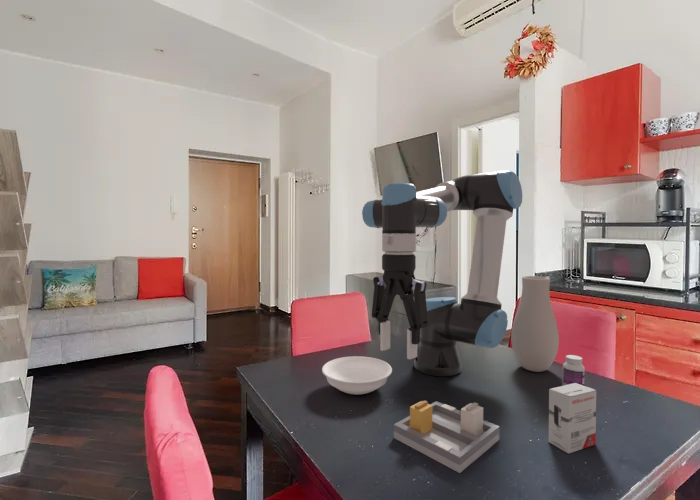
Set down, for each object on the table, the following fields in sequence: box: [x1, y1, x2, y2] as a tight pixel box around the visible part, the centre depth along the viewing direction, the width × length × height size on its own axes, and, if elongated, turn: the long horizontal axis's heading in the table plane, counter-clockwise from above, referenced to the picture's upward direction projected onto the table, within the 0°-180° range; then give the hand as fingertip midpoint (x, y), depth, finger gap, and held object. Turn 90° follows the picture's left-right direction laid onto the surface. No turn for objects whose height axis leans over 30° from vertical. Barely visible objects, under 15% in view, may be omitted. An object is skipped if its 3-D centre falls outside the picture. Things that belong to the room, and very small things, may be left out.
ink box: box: [548, 383, 597, 455], centre depth 77 cm, size 8×5×12 cm, turn 112°
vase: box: [510, 275, 560, 373], centre depth 119 cm, size 14×14×30 cm
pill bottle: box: [561, 354, 586, 386], centre depth 103 cm, size 5×5×10 cm
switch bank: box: [393, 401, 500, 474], centre depth 79 cm, size 16×16×3 cm
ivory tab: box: [460, 402, 484, 436], centre depth 79 cm, size 3×4×6 cm
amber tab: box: [409, 400, 432, 434], centre depth 80 cm, size 3×4×6 cm
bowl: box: [321, 355, 393, 396], centre depth 104 cm, size 20×20×6 cm
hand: (398, 353), depth 84 cm, fingers open, 7 cm apart
